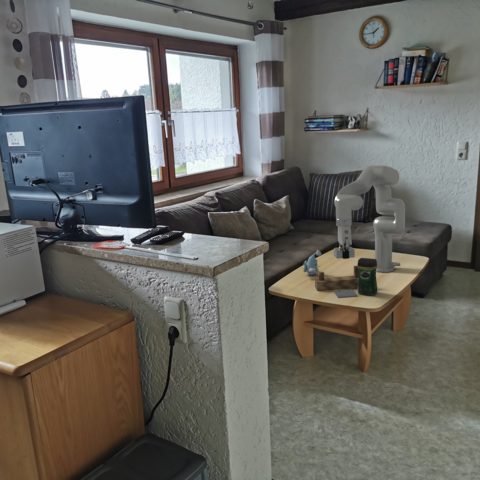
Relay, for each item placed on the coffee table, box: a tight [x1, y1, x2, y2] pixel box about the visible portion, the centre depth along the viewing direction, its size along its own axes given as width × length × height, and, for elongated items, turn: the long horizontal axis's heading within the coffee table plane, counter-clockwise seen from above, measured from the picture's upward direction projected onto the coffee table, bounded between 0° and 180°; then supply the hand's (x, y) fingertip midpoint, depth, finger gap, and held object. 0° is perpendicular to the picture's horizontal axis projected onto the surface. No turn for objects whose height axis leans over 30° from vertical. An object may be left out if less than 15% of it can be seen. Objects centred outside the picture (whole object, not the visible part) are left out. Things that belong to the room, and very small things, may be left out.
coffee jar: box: [356, 257, 379, 296], centre depth 248 cm, size 10×8×19 cm
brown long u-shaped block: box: [314, 265, 359, 292], centre depth 261 cm, size 26×6×11 cm, turn 93°
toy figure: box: [302, 249, 322, 276], centre depth 284 cm, size 17×10×15 cm, turn 168°
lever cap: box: [333, 246, 356, 259], centre depth 247 cm, size 9×6×5 cm, turn 92°
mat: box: [333, 288, 359, 299], centre depth 251 cm, size 10×9×1 cm
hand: (344, 256), depth 247 cm, fingers closed on lever cap, 6 cm apart
